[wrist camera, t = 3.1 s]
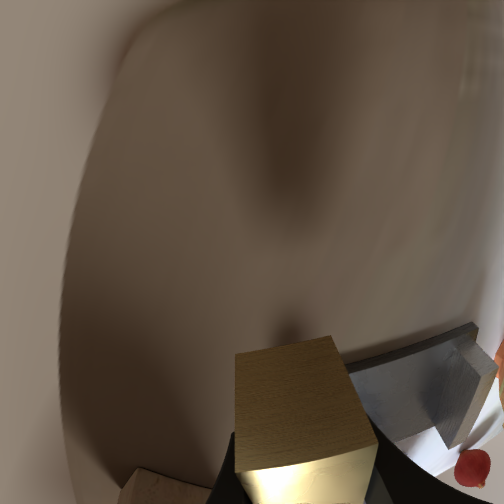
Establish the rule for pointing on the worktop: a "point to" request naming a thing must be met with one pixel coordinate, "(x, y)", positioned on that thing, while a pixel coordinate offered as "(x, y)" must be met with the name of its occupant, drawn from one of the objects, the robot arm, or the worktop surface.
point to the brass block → (301, 427)
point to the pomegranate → (472, 468)
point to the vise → (427, 386)
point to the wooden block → (160, 490)
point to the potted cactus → (500, 372)
